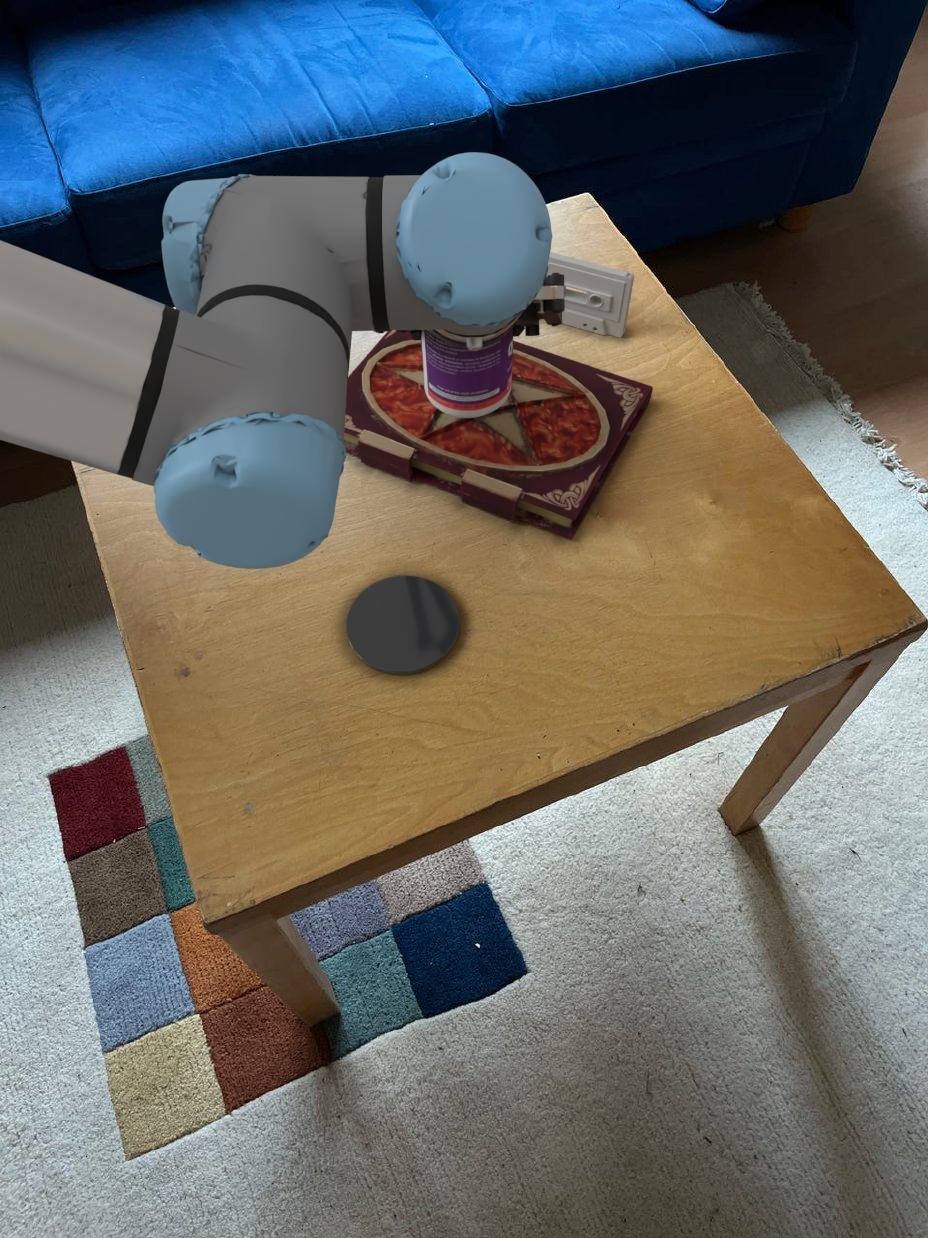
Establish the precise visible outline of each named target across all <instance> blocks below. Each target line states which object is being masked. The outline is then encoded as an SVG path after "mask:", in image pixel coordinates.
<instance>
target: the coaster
mask: <svg viewBox="0 0 928 1238" xmlns="http://www.w3.org/2000/svg"><path fill="white" fill-rule="evenodd" d="M460 621H461V619H460V614H459V608H458V607H457V604H456V602H455V600H454V598H453V597H452V596H451V594H449V592H448V591H447V590H445V588H444V587H442V586H441V585H440V584H438V583H437V582H434V581H432V580H430V579H428V578H424V577H421V576H416V575H407V574H406V575H395V576H389V577H386V578H382V579H380V580H377V581H375V582H374V583H372V584H370V585H369V586H367V587H366V588H365V589H364V590H362V591H361V592H360V594H358V595H357V597H355V599H354V600H353V602H352V604H351V606H350V607H349V610H348V612H347V616H346V620H345V631H346V637H347V640H348V643H349V646H350V648H351V651H353V653H354V654H355V656H356V657H357V658H358V659H359V660H360V661H361V662H362V663H363V664H365V666H368V667H369V668H371V669H372V670H375V671H377V672H381V673H383V674H388V675H393V676H394V675H396V676H406V675H407V676H408V675H414V674H418V673H422V672H424V671H426V670H429V669H431V668H433V667H434V666H436V665H439V663H441V662H442V661H443V660H444V659H445V658H446V657H447V656H448V655H449V654H450V653H451V651H452V650H453V648H454V647H455V645H456V642H457V640H458V637H459V633H460V627H461V626H460V625H461V623H460Z"/></svg>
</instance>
